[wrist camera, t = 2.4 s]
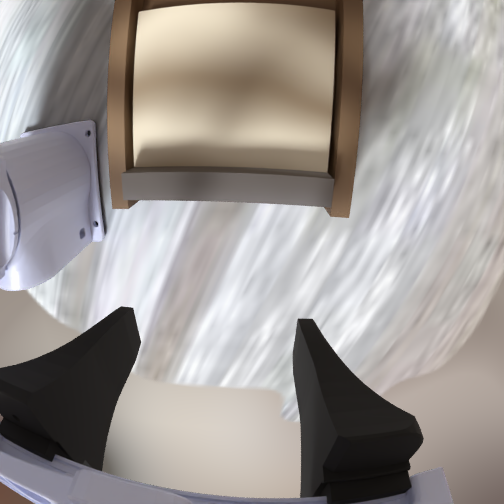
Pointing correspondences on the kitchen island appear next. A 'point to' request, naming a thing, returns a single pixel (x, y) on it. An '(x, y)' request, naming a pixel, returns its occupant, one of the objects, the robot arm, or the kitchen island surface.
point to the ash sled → (233, 104)
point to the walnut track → (343, 3)
